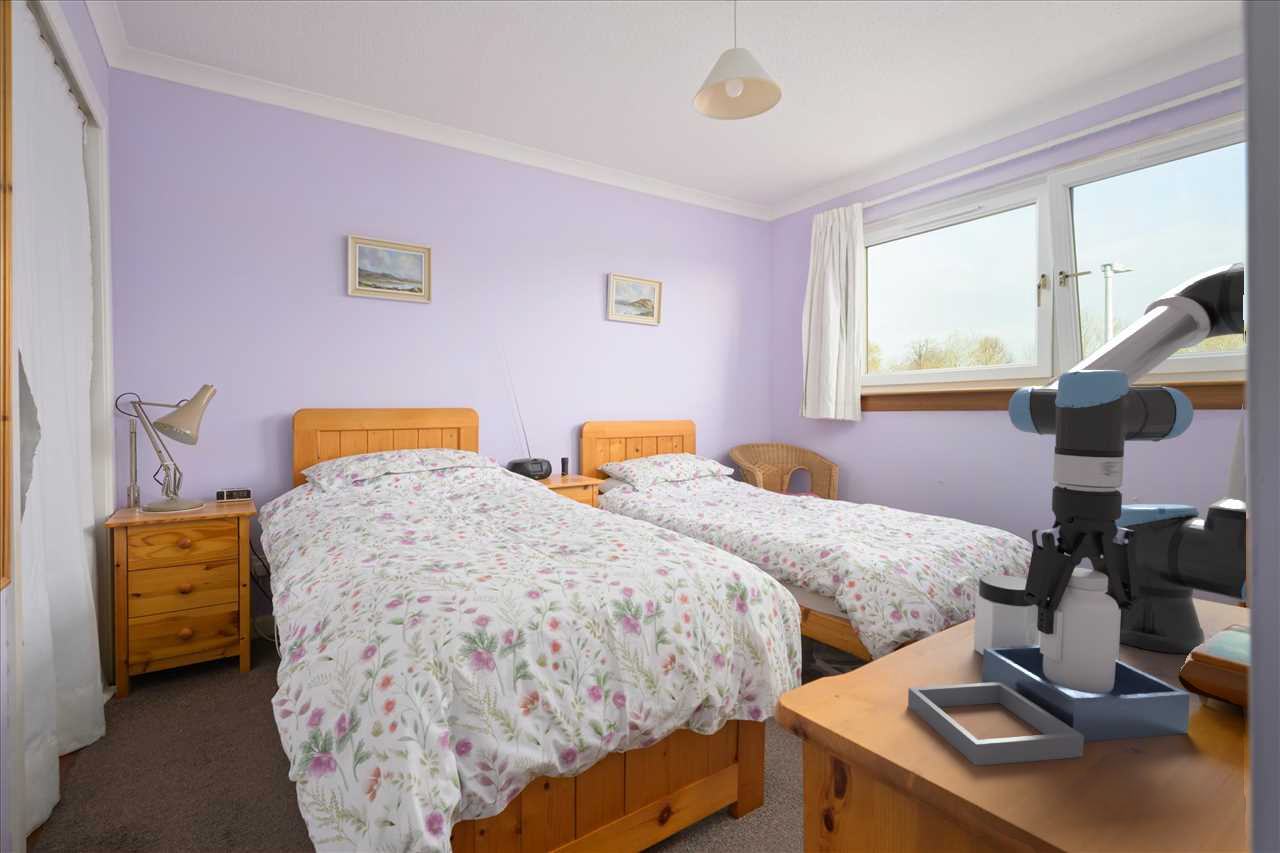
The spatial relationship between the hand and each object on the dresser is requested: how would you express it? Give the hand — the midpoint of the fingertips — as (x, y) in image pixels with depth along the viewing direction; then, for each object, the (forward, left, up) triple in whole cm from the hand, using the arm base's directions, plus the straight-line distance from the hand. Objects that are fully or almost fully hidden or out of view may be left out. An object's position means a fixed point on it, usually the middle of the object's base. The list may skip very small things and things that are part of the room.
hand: (1078, 654), depth 84 cm
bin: (0, 0, -7) cm, 7 cm away
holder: (+16, +4, -7) cm, 18 cm away
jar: (-2, -16, -7) cm, 18 cm away
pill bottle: (0, 0, -4) cm, 4 cm away
